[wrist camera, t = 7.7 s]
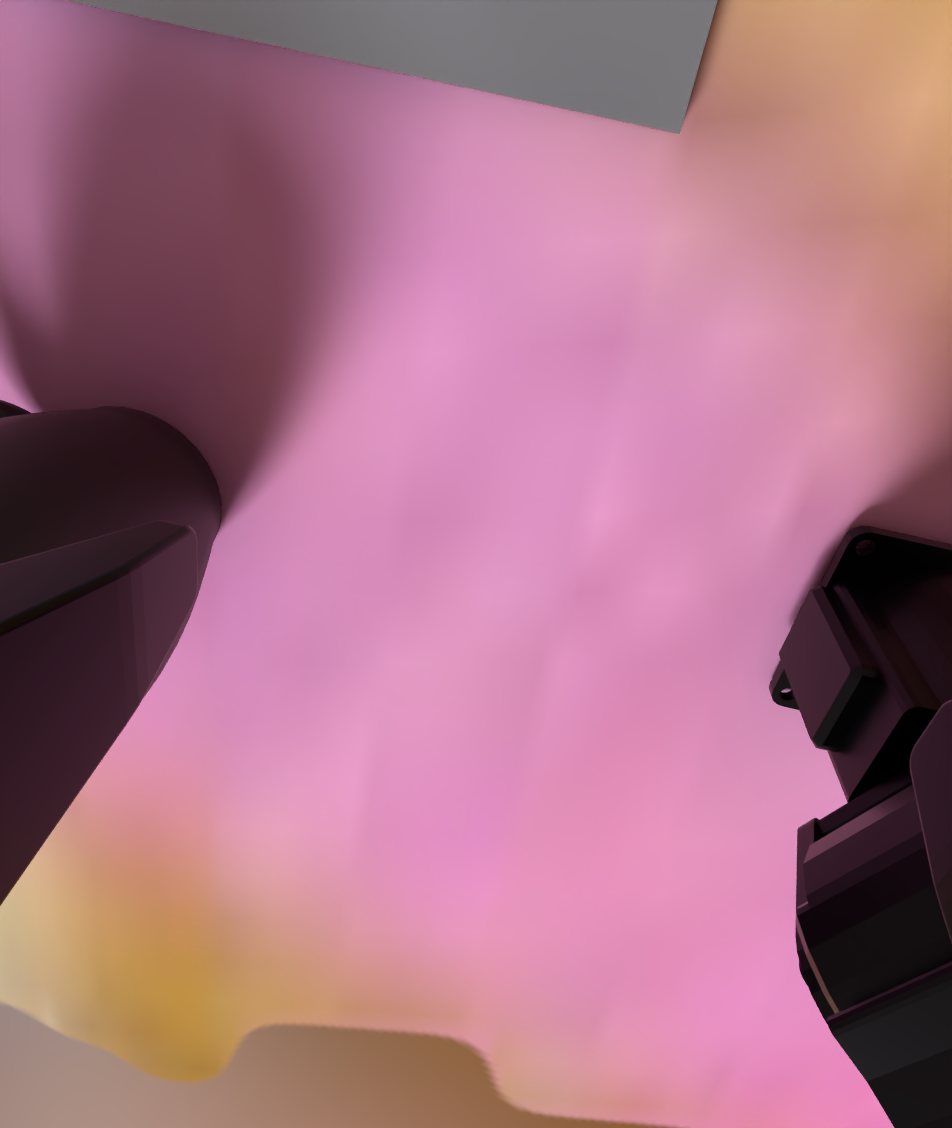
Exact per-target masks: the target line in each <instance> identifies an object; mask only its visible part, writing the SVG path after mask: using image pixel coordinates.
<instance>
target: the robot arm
mask: <svg viewBox="0 0 952 1128" xmlns="http://www.w3.org/2000/svg"><path fill="white" fill-rule="evenodd" d="M864 540H870V544H869V545H868V546H867V547H865V548H863V549H856V546H857V545H858V544H859V543H860V542H862V541H864ZM197 588H198V562H197V536H196V533H195V531H194V529H193V528H192V527H190V526H187V525H183V524H179V523H174V522H170V521H166V520H155V521H152V522H148V523H145V524H141V525H138V526H134V527H131V528H127V529H123V530H120V531H116V532H113V533H109V534H106V535H102V536H99V537H95V538H91V539H88V540H84V541H81V542H77V543H74V544H70V545H67V546H63V547H59V548H56V549H52V550H49V551H45V552H42V553H38V554H35V555H31V556H28V557H24V558H20V559H17V560H13V561H10V562H6V563H3V564H0V906H1V904H2V903H3V901H4V900H5V898H6V897H7V895H8V894H9V893H10V891H11V890H12V888H13V887H14V885H15V884H16V883H17V881H18V880H19V878H20V877H21V875H22V874H23V872H24V871H25V870H26V868H27V867H28V865H29V864H30V862H31V861H32V860H33V858H34V857H35V855H36V854H37V852H38V851H39V849H40V848H41V847H42V845H43V844H44V842H45V841H46V839H47V838H48V837H49V835H50V834H51V832H52V831H53V829H54V828H55V826H56V825H57V824H58V822H59V821H60V819H61V818H62V816H63V815H64V813H65V812H66V811H67V809H68V808H69V806H70V805H71V803H72V802H73V801H74V799H75V798H76V796H77V795H78V793H79V792H80V790H81V789H82V788H83V786H84V785H85V783H86V782H87V780H88V779H89V778H90V776H91V775H92V773H93V772H94V770H95V769H96V767H97V766H98V765H99V763H100V762H101V760H102V759H103V757H104V756H105V755H106V753H107V752H108V750H109V749H110V747H111V746H112V744H113V743H114V742H115V740H116V739H117V737H118V736H119V734H120V733H121V731H122V730H123V729H124V727H125V726H126V724H127V723H128V721H129V720H130V718H131V717H132V715H133V714H134V712H135V711H136V709H137V708H138V706H139V705H140V703H141V701H142V699H143V697H144V696H145V694H146V692H147V690H148V689H149V687H150V685H151V683H152V681H153V679H154V677H155V676H156V674H157V672H158V670H159V668H160V666H161V664H162V662H163V660H164V659H165V657H166V655H167V653H168V651H169V649H170V647H171V645H172V643H173V642H174V640H175V638H176V636H177V634H178V632H179V630H180V628H181V626H182V625H183V623H184V621H185V619H186V617H187V615H188V613H189V611H190V609H191V608H192V606H193V603H194V601H195V598H196V594H197ZM779 656H780V659H781V662H780V664H779V666H778V668H777V670H776V672H775V674H774V676H773V678H772V680H771V682H770V685H769V690H770V693H771V696H772V699H773V701H774V702H775V703H776V704H778V705H781V706H784V707H788V708H793V709H797V710H800V712H801V715H802V718H803V720H804V723H805V726H806V728H807V731H808V734H809V736H810V739H811V740H812V742H813V744H814V745H815V747H816V748H818V749H823V750H827V751H828V753H829V756H830V759H831V761H832V764H833V766H834V769H835V771H836V774H837V776H838V779H839V781H840V784H841V787H842V789H843V792H844V794H845V797H846V799H847V802H848V803H847V804H845V805H844V806H842V807H840V808H839V809H837V810H835V811H834V812H832V813H830V814H829V815H827V816H825V817H824V818H822V819H821V820H819V819H817V818H814V819H812V820H810V821H809V822H807V823H806V824H804V825H802V826H801V827H799V828H798V834H797V886H796V945H797V953H798V957H799V968H800V972H801V975H802V977H803V979H804V981H805V982H806V984H807V985H808V987H809V990H810V992H811V995H812V996H813V998H814V1000H815V1002H816V1004H817V1006H818V1008H819V1010H820V1012H821V1014H822V1016H823V1018H824V1020H825V1021H826V1023H827V1024H828V1027H829V1029H830V1031H831V1033H832V1034H833V1036H834V1037H835V1039H836V1040H837V1041H838V1043H839V1044H840V1045H841V1047H842V1048H843V1049H844V1051H845V1052H846V1054H847V1055H848V1056H849V1058H850V1059H851V1060H852V1062H853V1063H854V1064H855V1066H856V1067H857V1069H858V1070H859V1071H860V1073H861V1074H862V1075H863V1077H864V1078H865V1080H866V1081H867V1082H868V1084H869V1086H870V1087H871V1089H872V1091H873V1092H874V1094H875V1096H876V1097H877V1099H878V1101H879V1103H880V1104H881V1106H882V1108H883V1109H884V1111H885V1113H886V1114H887V1116H888V1118H889V1119H890V1121H891V1123H892V1124H893V1126H894V1128H952V545H950V544H946V543H941V542H937V541H933V540H928V539H924V538H919V537H915V536H910V535H906V534H901V533H897V532H892V531H888V530H883V529H879V528H874V527H870V526H860V527H856V528H853V529H852V530H850V531H849V532H848V533H847V534H846V535H845V537H844V538H843V540H842V542H841V544H840V546H839V548H838V550H837V552H836V554H835V556H834V558H833V560H832V562H831V564H830V566H829V568H828V570H827V572H826V574H825V576H824V578H823V580H822V582H821V584H820V585H819V586H817V587H815V588H814V589H813V590H811V591H810V592H809V594H808V596H807V598H806V600H805V602H804V604H803V606H802V608H801V610H800V612H799V614H798V616H797V618H796V620H795V622H794V624H793V626H792V628H791V630H790V632H789V634H788V636H787V638H786V640H785V642H784V644H783V646H782V648H781V650H780V652H779ZM786 688H792V690H791V691H789V692H787V693H783V692H781V691H782V690H784V689H786Z"/></svg>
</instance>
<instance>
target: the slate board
mask: <svg viewBox="0 0 952 1128" xmlns="http://www.w3.org/2000/svg"><path fill="white" fill-rule="evenodd" d="M64 1H68V2H73V3H77V4H82V5H87V6H91V7H96V8H100V9H105V10H110V11H114V12H119V13H124V14H128V15H133V16H137V17H142V18H147V19H151V20H156V21H160V22H165V23H170V24H174V25H179V26H183V27H188V28H193V29H197V30H202V31H206V32H211V33H216V34H220V35H225V36H229V37H234V38H239V39H243V40H248V41H252V42H257V43H262V44H266V45H271V46H275V47H280V48H285V49H289V50H294V51H298V52H303V53H308V54H312V55H317V56H321V57H326V58H331V59H335V60H340V61H344V62H349V63H354V64H358V65H363V66H367V67H372V68H377V69H381V70H386V71H390V72H395V73H400V74H404V75H409V76H413V77H418V78H423V79H427V80H432V81H436V82H441V83H446V84H450V85H455V86H459V87H464V88H469V89H473V90H478V91H482V92H487V93H492V94H496V95H501V96H505V97H510V98H515V99H519V100H524V101H528V102H533V103H538V104H542V105H547V106H551V107H556V108H561V109H565V110H570V111H574V112H579V113H584V114H588V115H593V116H597V117H602V118H607V119H611V120H616V121H620V122H625V123H630V124H634V125H639V126H643V127H648V128H653V129H657V130H662V131H666V132H671V133H676V134H680V131H681V127H682V124H683V120H684V117H685V113H686V110H687V106H688V103H689V99H690V96H691V92H692V89H693V85H694V82H695V78H696V75H697V71H698V68H699V64H700V61H701V57H702V54H703V50H704V47H705V43H706V39H707V36H708V32H709V29H710V25H711V22H712V18H713V15H714V11H715V8H716V4H717V1H718V0H64Z"/></svg>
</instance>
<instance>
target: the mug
mask: <svg viewBox="0 0 952 1128" xmlns="http://www.w3.org/2000/svg"><path fill="white" fill-rule="evenodd" d="M155 520H166V521H170V522H174V523H179V524H183V525H187V526H190V527H192V528H193V529H194V531H195V533H196V536H197V562H198V588H197V594H196V598H195V601H194V603H193V606H192V608H191V609H190V611H189V613H188V615H187V617H186V619H185V621H184V623H183V625H182V626H181V628H180V630H179V632H178V634H177V636H176V638H175V640H174V642H173V643H172V645H171V647H170V649H169V651H168V653H167V655H166V657H165V659H164V660H163V662H162V664H161V666H160V668H159V670H158V672H157V674H156V676H155V677H154V679H153V681H152V683H151V685H150V687H149V689H150V688H151V687H152V685H153V684H154V682H155V681H156V679H157V678H158V677H159V675H160V674H161V672H162V670H163V668H164V667H165V665H166V663H167V661H168V660H169V658H170V656H171V654H172V653H173V651H174V649H175V647H176V646H177V644H178V641H179V639H180V637H181V635H182V633H183V631H184V629H185V626H186V624H187V622H188V620H189V618H190V615H191V612H192V610H193V607H194V604H195V602H196V599H197V596H198V593H199V590H200V587H201V583H202V580H203V577H204V573H205V570H206V567H207V563H208V560H209V557H210V553H211V549H212V545H213V542H214V539H215V537H216V535H217V531H218V528H219V525H220V522H221V500H220V495H219V490H218V486H217V483H216V480H215V478H214V476H213V474H212V471H211V469H210V467H209V465H208V464H207V462H206V461H205V459H204V458H203V456H202V455H201V454H200V452H199V451H198V450H197V448H196V447H195V446H194V445H193V444H192V443H191V442H190V441H189V440H188V439H187V438H186V437H185V436H184V435H183V434H181V433H180V432H179V431H177V430H176V429H175V428H173V427H172V426H170V425H169V424H167V423H166V422H164V421H162V420H160V419H158V418H156V417H154V416H152V415H149V414H147V413H145V412H142V411H138V410H134V409H129V408H125V407H99V408H95V409H87V410H71V411H53V412H41V413H30V412H28V411H26V410H25V409H23V408H20V407H18V406H16V405H13V404H11V403H8V402H5V401H2V400H0V564H3V563H6V562H10V561H13V560H17V559H20V558H24V557H28V556H31V555H35V554H38V553H42V552H45V551H49V550H52V549H56V548H59V547H63V546H67V545H70V544H74V543H77V542H81V541H84V540H88V539H91V538H95V537H99V536H102V535H106V534H109V533H113V532H116V531H120V530H123V529H127V528H131V527H134V526H138V525H141V524H145V523H148V522H152V521H155ZM149 689H148V690H147V692H148V691H149ZM147 692H146V694H147ZM146 694H145V695H146ZM143 698H144V697H143Z"/></svg>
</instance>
